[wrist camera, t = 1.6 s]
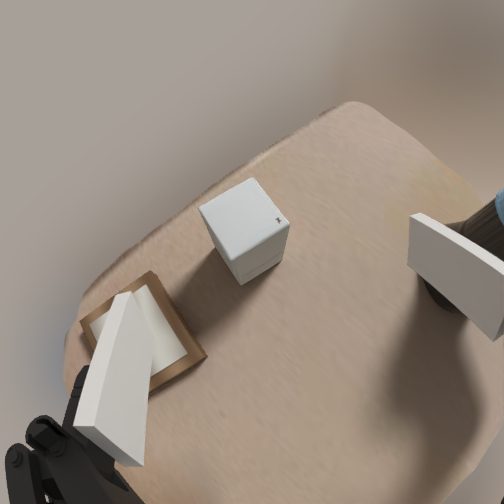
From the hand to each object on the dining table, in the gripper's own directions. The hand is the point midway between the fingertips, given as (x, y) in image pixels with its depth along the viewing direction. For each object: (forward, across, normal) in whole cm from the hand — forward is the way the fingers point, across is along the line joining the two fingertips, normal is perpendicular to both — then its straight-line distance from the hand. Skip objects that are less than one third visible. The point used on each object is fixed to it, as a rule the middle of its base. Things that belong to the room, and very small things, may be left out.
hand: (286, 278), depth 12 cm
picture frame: (+21, -18, -18) cm, 33 cm away
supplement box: (+27, 0, -12) cm, 30 cm away
